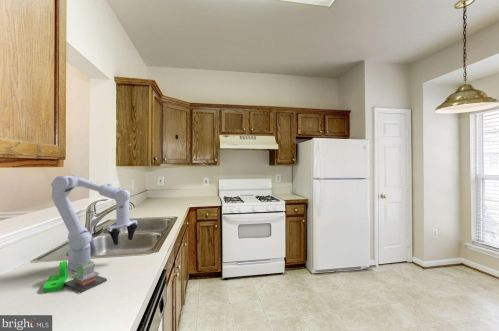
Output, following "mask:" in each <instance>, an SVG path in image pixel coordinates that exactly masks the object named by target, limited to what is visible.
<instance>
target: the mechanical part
mask: <svg viewBox="0 0 499 331" xmlns="http://www.w3.org/2000/svg"><path fill="white" fill-rule="evenodd" d="M67 266H68V260H64V261H60V262H59V265H58V274H54V275H49V277H48V278H47V280H46V282H45V283H44V285H43V292H44V293H46V294H47V293H50V294H51V293H54V292H59V291H63V288H64V287H65V286H64V283H65V282H67V279H68V277H69V276H68V268H67Z"/></svg>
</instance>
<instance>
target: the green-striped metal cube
mask: <svg viewBox="0 0 499 331" xmlns="http://www.w3.org/2000/svg"><path fill="white" fill-rule="evenodd" d="M94 264H95V263H94V261H92V260H91V261H89V260H87V261H84V262H81V263H78V264H77V271H76V272H77V274H78V276H79V277H82V278H85V277H87V276H90V275H92V274H94V271H95V265H94Z"/></svg>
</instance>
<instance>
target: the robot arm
mask: <svg viewBox="0 0 499 331" xmlns="http://www.w3.org/2000/svg"><path fill="white" fill-rule="evenodd" d="M50 185H51V187H52V188H51V199H52V202H53V203H54V205H55V207H56V209H57V212H58V213H59V215H60V217H61V220H62V221H63V223H64V225H65V227H66V229H67V230H68V236H67V240H68V246H69V248H70V249H69V250H68V253H67V259H68V260H67V269H69V270H72V271H75V272H78V271H77V264H78V263H81V262H84V261H87V260H89V261H92V260H91V242H92V241H93V234H92V233H91V232H90V231H89V230H88V229H87V227H85V226H83V225H82V223H81V221H80V218H79V217H78V215H77V212H76V211H75V209H74V207H73V204H72V202H71V201H70V199H69V195H70V193H71V191H72V190H73V189H75V188H76V187H78V188H79V187H82V188H85V189H88V190H92V191H95V192H98V194H99V195H100V196H101V197H105V198H108V199H112V200H114V201H115V202H116V206H115V209H116V211H115V212H116V214H115V216H116V223H114V224H112V225H109V226H107V227H106V228H107V232H108V233H109V236H110V237H111V239H112V242H113V245H114V246H118V245H119V234H120V230H118V229H123V228H126V230H127V239H128V240H129V241H132V240H133V238H134V235H135V232H136V230H137V228H138V220H136V219H133V220H131V219H130V216H131V215H130V211H131V210H130V198H131V192H130V190H128V189H127V188H124V189H123V188H122V187H116V186H114V185H112V184H111V183H104V184H99V183H98V182H96V181H95V182H94V181H93V180H89V179H86V178H84V177H81V176H78V175H77V176H76V175H73V174H68V175H59V176H56V177H55V178H54V179H53V180H52V182H51V184H50ZM94 266H95V263H94Z"/></svg>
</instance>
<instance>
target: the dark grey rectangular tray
mask: <svg viewBox="0 0 499 331" xmlns="http://www.w3.org/2000/svg"><path fill="white" fill-rule="evenodd" d="M70 278H71V279H70V280H67V281H66V282H65V283H64V286H63V287H66V288H68V289H70V290H72V291H76V292H78V293H80V294H82V293H84V292H86V291H88V290H91V289H92V288H95V287H97V286H99V285H102V284H104V283H106V282H107V281H108V280H107V278H106V277H103V276H100V272H97V271H95V270H94V274H92V275H90V276H87V277H85V278H82V277H79V276H78V273H77V274H74V275H72V276H71V277H70Z"/></svg>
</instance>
